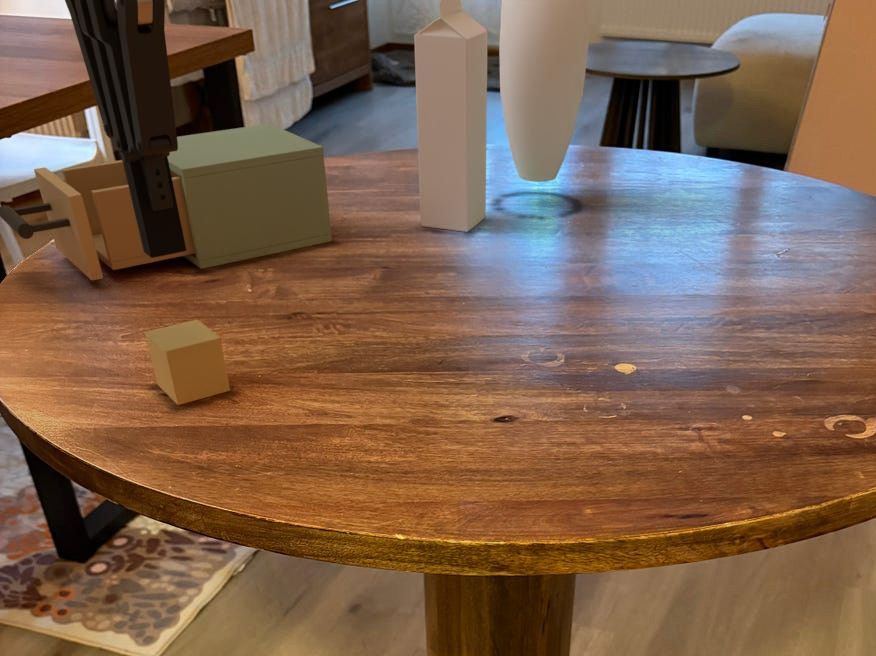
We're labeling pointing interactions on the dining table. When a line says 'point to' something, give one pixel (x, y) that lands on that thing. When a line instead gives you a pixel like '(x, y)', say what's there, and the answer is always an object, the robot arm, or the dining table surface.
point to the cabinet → (251, 193)
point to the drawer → (94, 217)
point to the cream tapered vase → (542, 80)
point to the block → (188, 361)
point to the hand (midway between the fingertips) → (165, 251)
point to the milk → (451, 119)
